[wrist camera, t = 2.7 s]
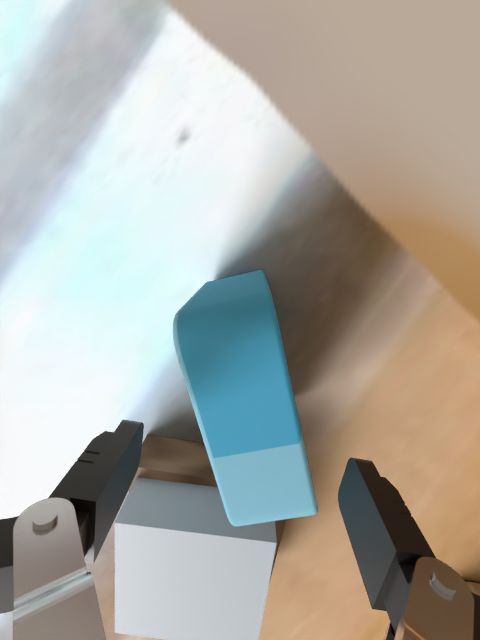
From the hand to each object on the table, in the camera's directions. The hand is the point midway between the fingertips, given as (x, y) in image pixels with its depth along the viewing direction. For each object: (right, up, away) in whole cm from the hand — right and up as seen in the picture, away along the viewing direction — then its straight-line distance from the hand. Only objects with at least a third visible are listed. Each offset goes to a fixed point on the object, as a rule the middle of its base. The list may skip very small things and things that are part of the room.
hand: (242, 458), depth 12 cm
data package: (+1, +3, +14) cm, 14 cm away
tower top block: (-4, -13, +14) cm, 20 cm away
